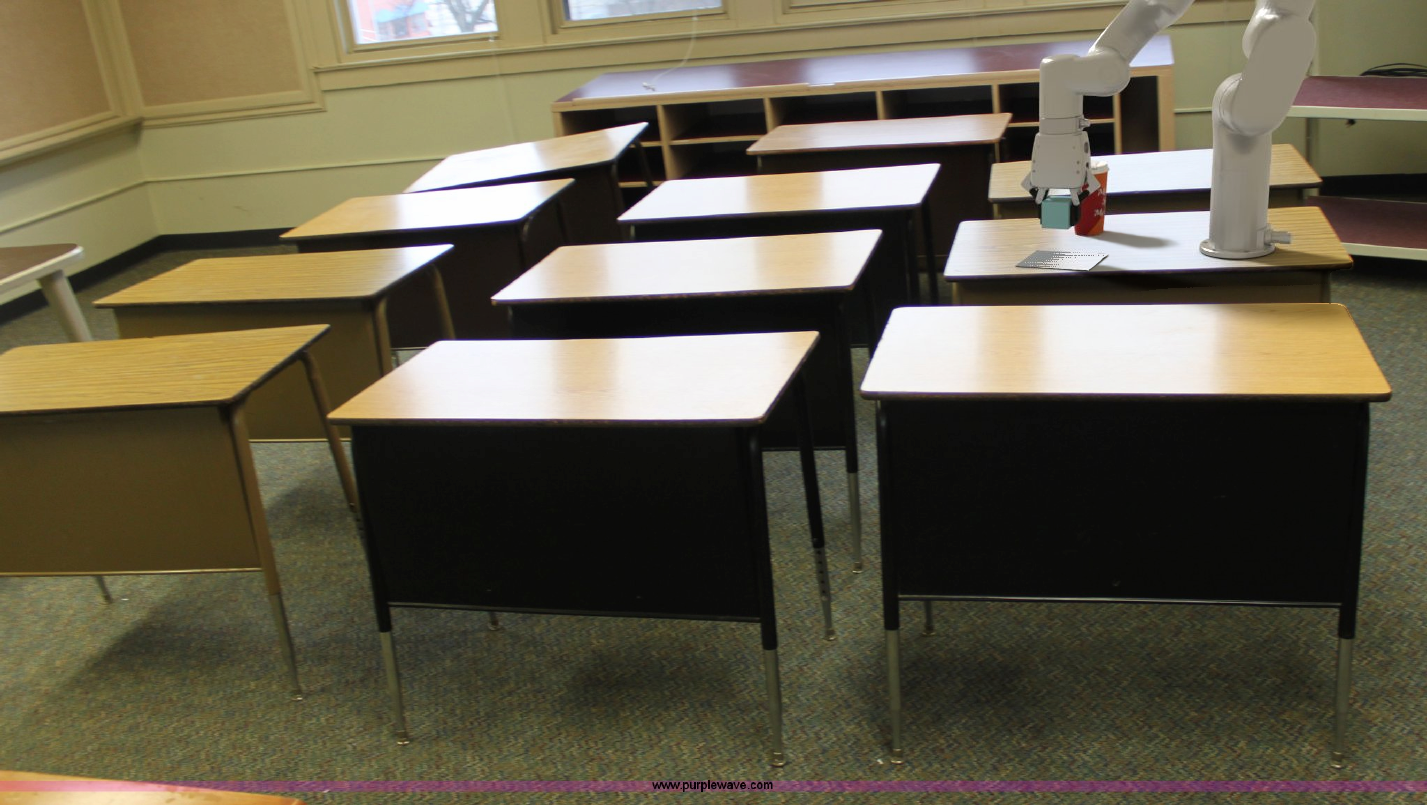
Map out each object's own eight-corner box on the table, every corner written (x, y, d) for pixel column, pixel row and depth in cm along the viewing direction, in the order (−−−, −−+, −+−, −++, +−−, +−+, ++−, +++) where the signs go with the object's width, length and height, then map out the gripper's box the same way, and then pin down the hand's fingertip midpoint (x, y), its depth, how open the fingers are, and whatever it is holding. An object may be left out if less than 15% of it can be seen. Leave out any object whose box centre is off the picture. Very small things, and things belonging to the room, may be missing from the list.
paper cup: (1111, 235, 227) (1111, 166, 222) (1071, 238, 229) (1071, 169, 223) (1106, 226, 234) (1107, 158, 229) (1067, 228, 236) (1067, 161, 230)
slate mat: (1108, 255, 215) (1108, 254, 215) (1088, 271, 207) (1088, 270, 207) (1036, 251, 223) (1036, 250, 223) (1015, 266, 215) (1015, 265, 215)
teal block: (1077, 222, 213) (1077, 196, 211) (1067, 229, 209) (1068, 202, 207) (1051, 221, 216) (1051, 195, 214) (1041, 228, 212) (1041, 201, 210)
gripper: (1114, 122, 203) (1111, 221, 210) (1023, 122, 213) (1023, 216, 220) (1100, 129, 198) (1098, 231, 205) (1007, 129, 208) (1008, 226, 214)
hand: (1059, 222), depth 212 cm, fingers closed on teal block, 4 cm apart
